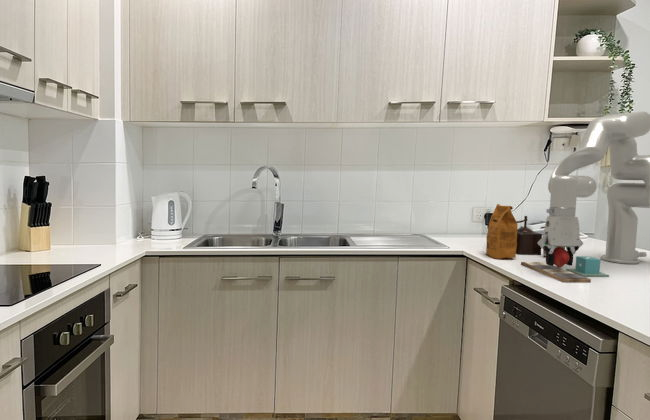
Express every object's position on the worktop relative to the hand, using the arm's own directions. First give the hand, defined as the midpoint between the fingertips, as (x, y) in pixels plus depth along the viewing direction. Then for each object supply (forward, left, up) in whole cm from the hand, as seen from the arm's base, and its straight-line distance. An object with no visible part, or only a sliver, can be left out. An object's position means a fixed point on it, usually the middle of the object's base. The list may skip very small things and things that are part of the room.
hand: (559, 264), depth 133 cm
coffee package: (+6, -30, -4) cm, 31 cm away
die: (-11, -2, -3) cm, 12 cm away
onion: (0, 0, -1) cm, 1 cm away
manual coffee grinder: (-7, -40, -4) cm, 41 cm away
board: (0, -3, -4) cm, 5 cm away
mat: (-11, -2, -4) cm, 12 cm away
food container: (-18, -29, -4) cm, 34 cm away
